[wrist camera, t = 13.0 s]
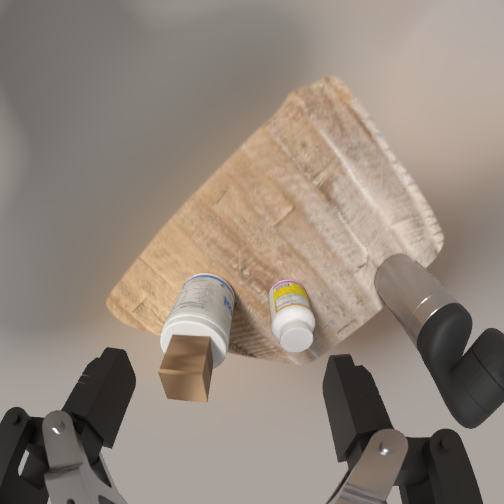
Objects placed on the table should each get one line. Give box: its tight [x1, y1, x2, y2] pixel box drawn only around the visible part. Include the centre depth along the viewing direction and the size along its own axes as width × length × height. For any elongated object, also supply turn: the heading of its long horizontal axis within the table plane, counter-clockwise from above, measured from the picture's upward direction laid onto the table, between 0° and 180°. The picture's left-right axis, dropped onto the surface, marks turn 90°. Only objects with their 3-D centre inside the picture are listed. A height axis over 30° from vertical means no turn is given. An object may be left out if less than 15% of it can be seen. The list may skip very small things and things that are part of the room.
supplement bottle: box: [269, 279, 315, 353], centre depth 42 cm, size 7×7×13 cm
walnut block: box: [158, 334, 213, 402], centre depth 31 cm, size 5×5×7 cm
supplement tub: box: [160, 273, 235, 368], centre depth 41 cm, size 10×10×15 cm
